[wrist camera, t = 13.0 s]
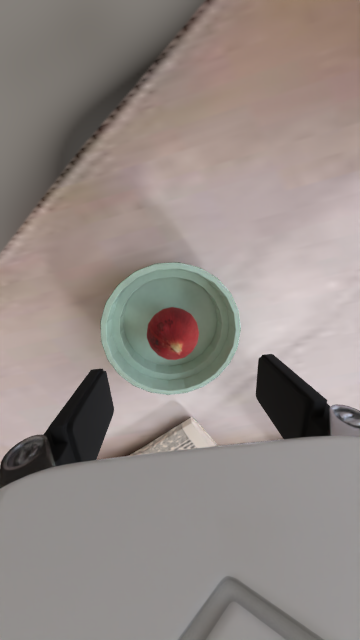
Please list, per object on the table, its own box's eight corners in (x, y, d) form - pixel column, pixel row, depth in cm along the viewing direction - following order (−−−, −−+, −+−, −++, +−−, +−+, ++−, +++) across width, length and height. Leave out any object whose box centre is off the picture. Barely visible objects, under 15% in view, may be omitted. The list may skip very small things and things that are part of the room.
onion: (147, 341, 24) (139, 374, 16) (152, 299, 23) (145, 314, 15) (189, 345, 25) (200, 379, 17) (196, 305, 23) (212, 322, 16)
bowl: (103, 268, 22) (86, 267, 17) (226, 260, 23) (243, 258, 18) (122, 376, 26) (112, 400, 21) (225, 366, 27) (238, 387, 22)
